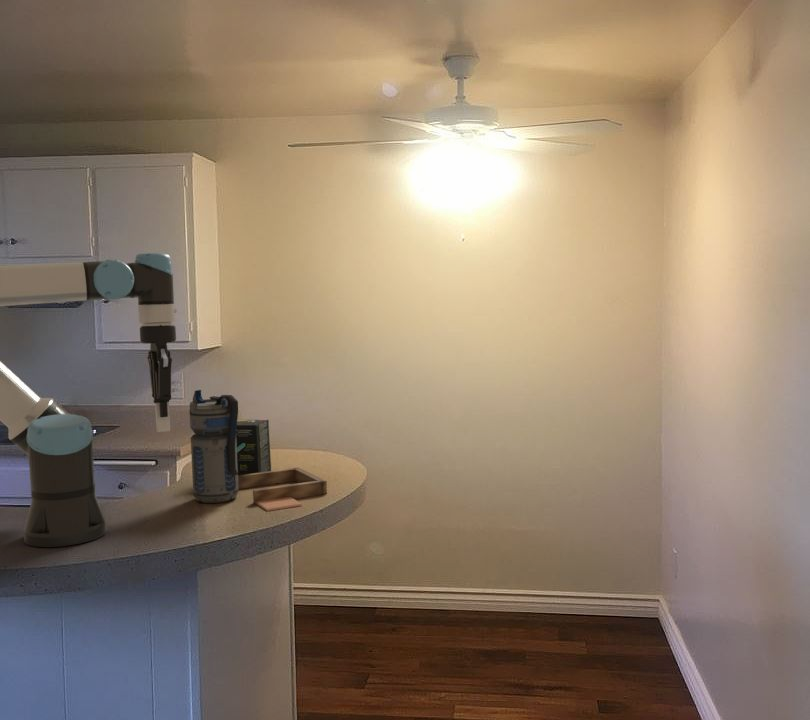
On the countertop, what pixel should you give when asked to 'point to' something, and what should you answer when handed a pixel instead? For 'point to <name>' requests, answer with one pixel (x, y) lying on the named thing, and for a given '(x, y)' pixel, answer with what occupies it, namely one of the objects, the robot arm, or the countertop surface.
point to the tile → (279, 503)
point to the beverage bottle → (214, 448)
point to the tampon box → (253, 446)
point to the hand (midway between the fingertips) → (163, 431)
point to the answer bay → (303, 488)
